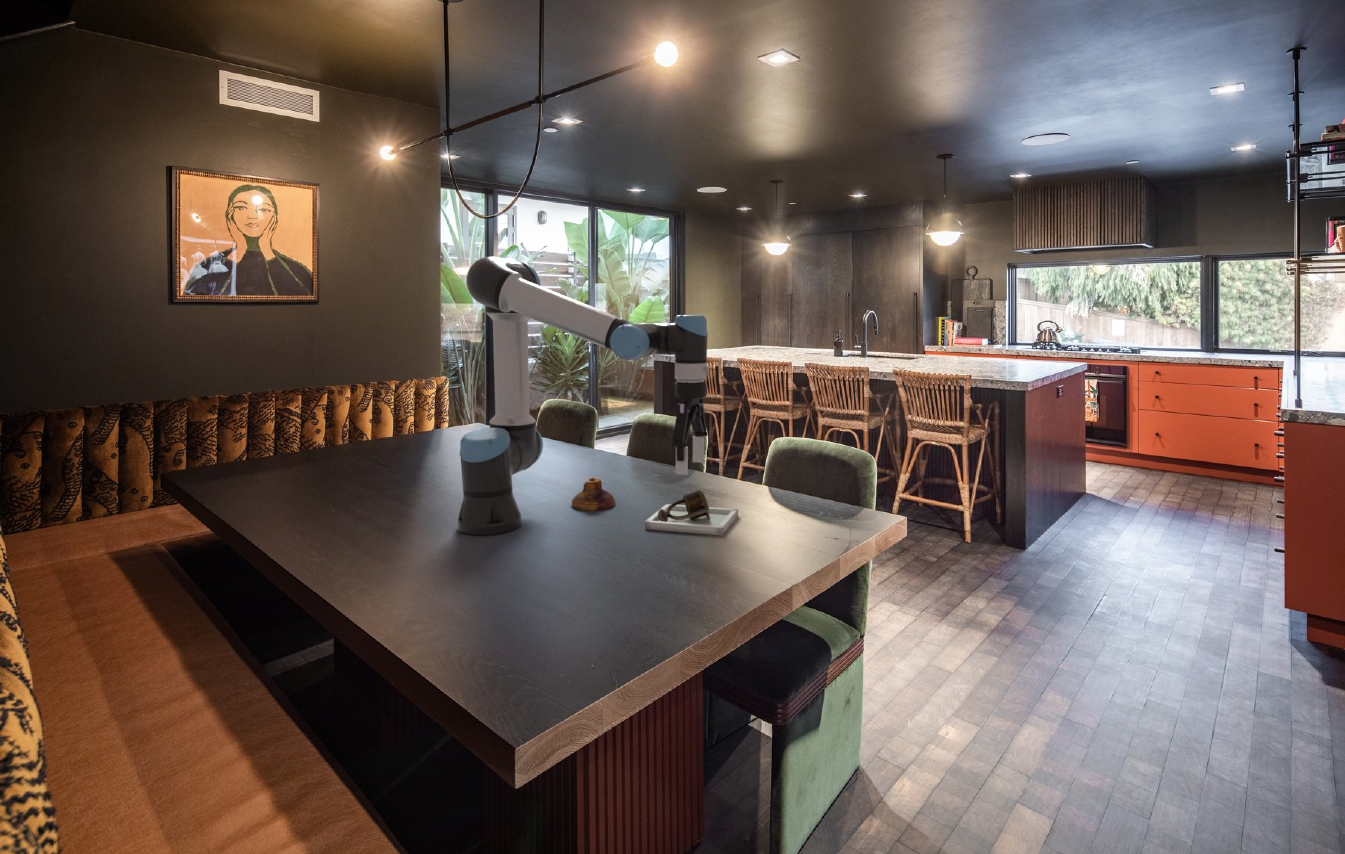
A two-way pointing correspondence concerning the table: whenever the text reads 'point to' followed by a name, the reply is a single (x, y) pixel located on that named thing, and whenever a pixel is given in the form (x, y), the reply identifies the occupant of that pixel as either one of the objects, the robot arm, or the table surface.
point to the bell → (593, 497)
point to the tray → (694, 521)
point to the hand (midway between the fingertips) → (690, 468)
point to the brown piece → (688, 507)
